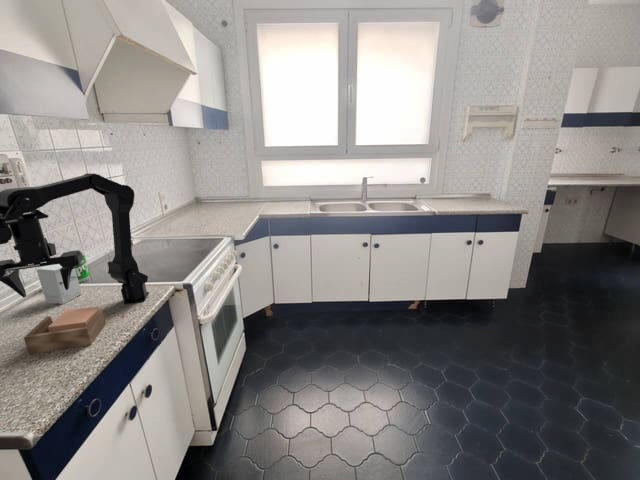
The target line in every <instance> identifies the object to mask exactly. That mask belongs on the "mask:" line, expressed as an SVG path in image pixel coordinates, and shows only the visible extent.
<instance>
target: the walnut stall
mask: <svg viewBox="0 0 640 480" xmlns="http://www.w3.org/2000/svg"><path fill="white" fill-rule="evenodd" d="M53 322H54V321H53V318H52V316H51V315H49V316H45V317H44V318H43V319H42V321H40V322H39V323H38V324H37V325H35V327H34V328H32V329H31V330H30V331H29V332H28V333H27V334H26V335H25V336H24V337H23V341H24V343H25V346H26V348H27V351H28V354H29V355H34V354H35V355H36V354H41V353H49V352H54V351H60V350H65V349H72V348H77V347H78V348H79V347H85V346H91V345H92V344H93V343H94V341H95V340H96V339H97V337H98V336H99V335H100V333H101V332H102V330H103V329H104V327H105V326H106V325H107V323H106V319H105V315H104V311H103V308H102V309H101V308H99V310H98V311H97V312H96V313H95V314H94V316H93V317H92V318H91V319H90V321H89V322H88V323H87V324H86V325H85V327H82V328H75V329H68V330H61V331H55V332H49V329H48V326H49V325H51V324H52V323H53Z"/></svg>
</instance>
